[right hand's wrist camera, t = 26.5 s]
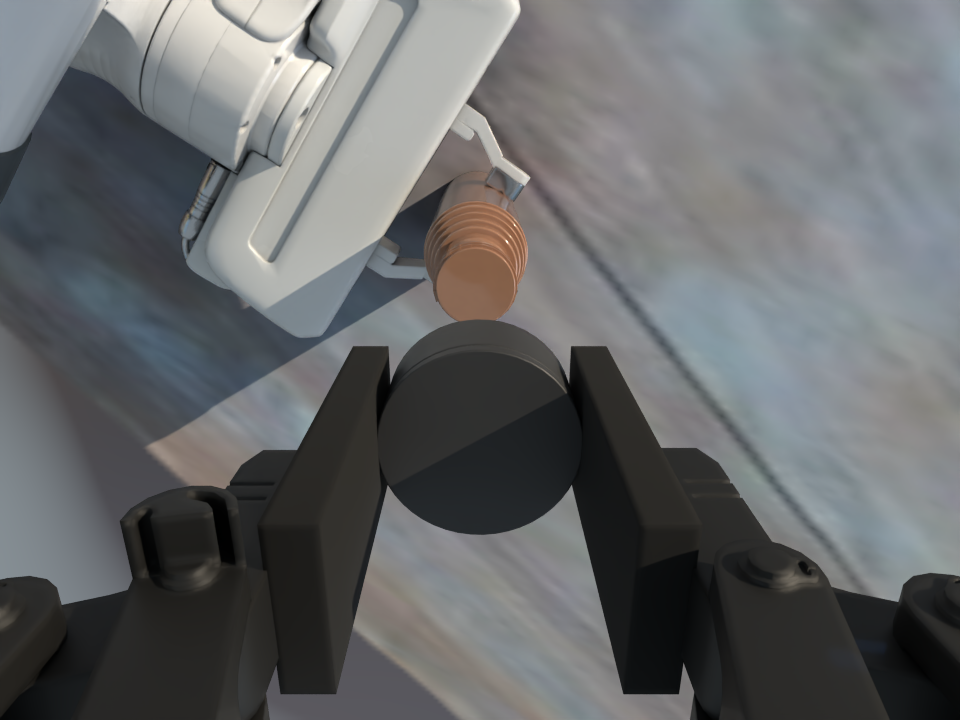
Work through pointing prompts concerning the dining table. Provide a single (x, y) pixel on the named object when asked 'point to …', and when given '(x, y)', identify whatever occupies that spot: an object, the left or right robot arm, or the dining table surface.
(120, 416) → the dining table surface
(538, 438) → the cap
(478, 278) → the bottle
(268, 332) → the dining table surface
